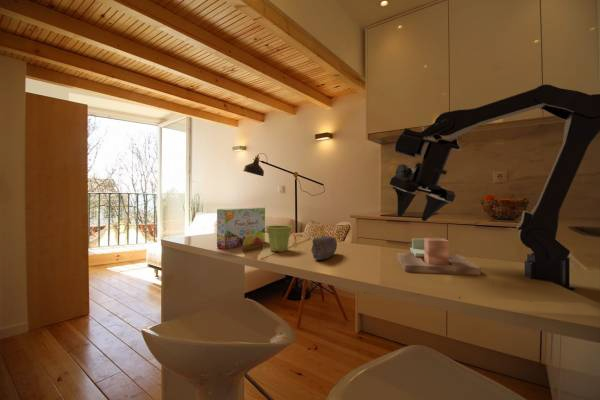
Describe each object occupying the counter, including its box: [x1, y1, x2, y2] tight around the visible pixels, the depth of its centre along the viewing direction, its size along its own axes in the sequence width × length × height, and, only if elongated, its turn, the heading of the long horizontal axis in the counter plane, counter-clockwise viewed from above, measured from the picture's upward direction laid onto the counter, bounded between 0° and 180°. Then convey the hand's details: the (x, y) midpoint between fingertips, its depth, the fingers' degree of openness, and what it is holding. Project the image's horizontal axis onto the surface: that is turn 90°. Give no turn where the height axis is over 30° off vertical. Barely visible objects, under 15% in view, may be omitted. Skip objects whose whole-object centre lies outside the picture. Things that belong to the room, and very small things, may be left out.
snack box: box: [216, 206, 266, 250], centre depth 115 cm, size 21×6×15 cm, turn 143°
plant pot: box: [265, 224, 293, 252], centre depth 102 cm, size 9×9×9 cm
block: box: [423, 237, 450, 265], centre depth 70 cm, size 4×4×7 cm
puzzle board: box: [396, 252, 481, 276], centre depth 72 cm, size 16×14×3 cm
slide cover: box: [409, 238, 424, 257], centre depth 78 cm, size 8×8×4 cm
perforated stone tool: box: [310, 235, 338, 261], centre depth 90 cm, size 15×5×7 cm, turn 149°
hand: (411, 218), depth 77 cm, fingers open, 9 cm apart
